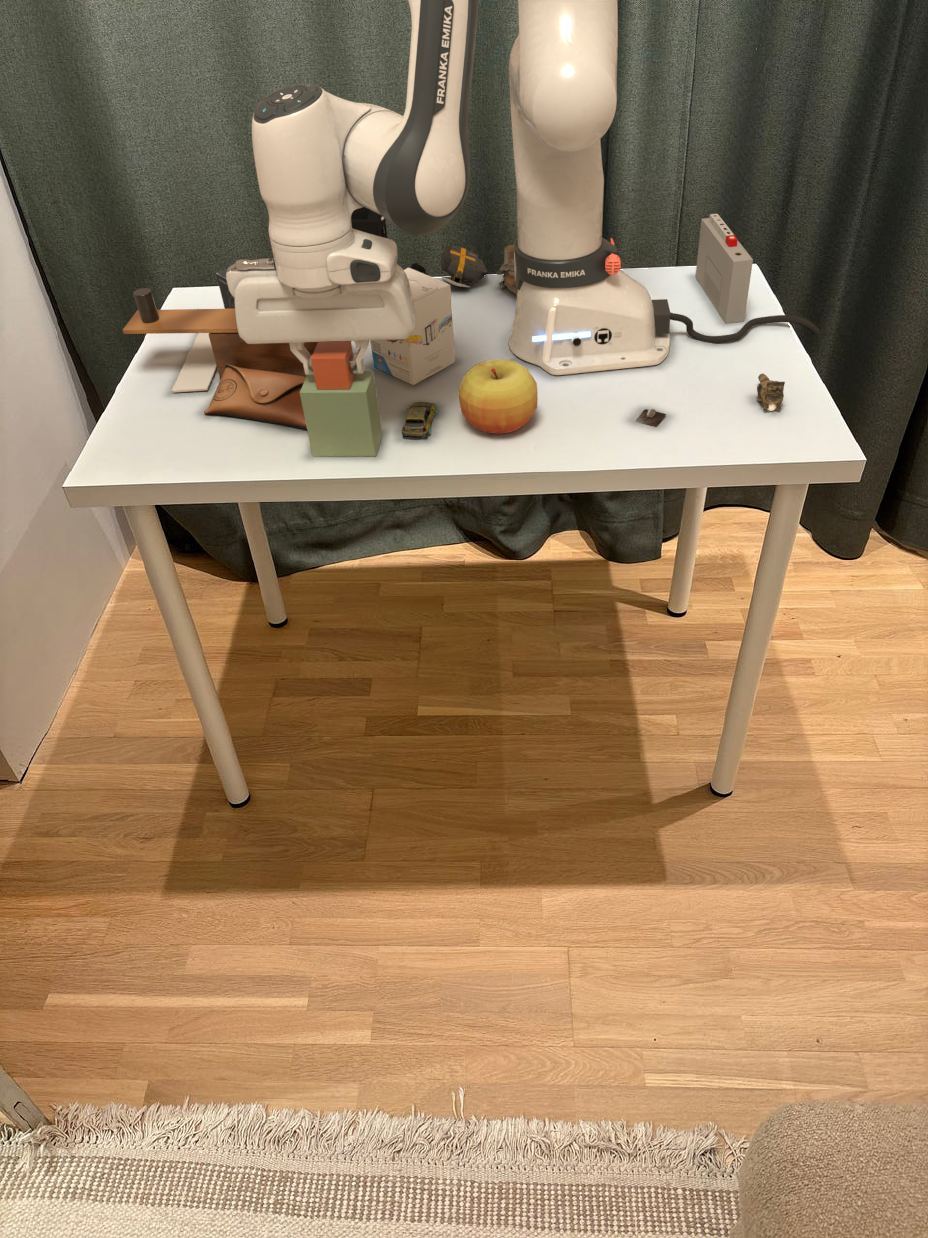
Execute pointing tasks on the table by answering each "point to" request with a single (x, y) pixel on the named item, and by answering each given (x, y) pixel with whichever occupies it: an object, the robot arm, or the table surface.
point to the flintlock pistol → (508, 270)
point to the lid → (177, 318)
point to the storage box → (257, 354)
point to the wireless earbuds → (418, 268)
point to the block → (332, 365)
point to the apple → (498, 396)
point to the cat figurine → (770, 392)
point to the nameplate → (197, 367)
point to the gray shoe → (462, 266)
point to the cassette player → (723, 269)
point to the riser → (342, 417)
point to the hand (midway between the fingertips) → (335, 371)
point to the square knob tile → (650, 417)
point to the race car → (419, 420)
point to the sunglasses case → (259, 396)
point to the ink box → (421, 334)
